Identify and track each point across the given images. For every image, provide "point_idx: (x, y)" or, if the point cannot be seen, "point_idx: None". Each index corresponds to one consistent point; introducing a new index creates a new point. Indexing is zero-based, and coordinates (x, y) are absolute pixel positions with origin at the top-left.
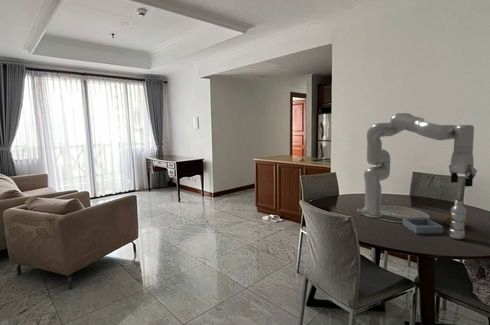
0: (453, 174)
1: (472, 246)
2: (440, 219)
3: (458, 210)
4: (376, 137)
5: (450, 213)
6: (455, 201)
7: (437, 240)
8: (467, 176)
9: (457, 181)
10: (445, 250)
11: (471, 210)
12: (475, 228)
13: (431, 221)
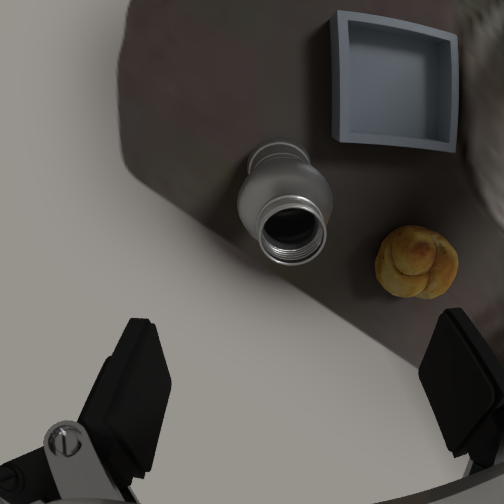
0: (493, 423)
1: (191, 170)
2: (471, 245)
3: (248, 182)
4: None
5: (445, 267)
6: (293, 201)
7: (254, 66)
8: (70, 459)
9: (422, 378)
10: (151, 47)
11: None
12: (367, 302)
13: (414, 138)
